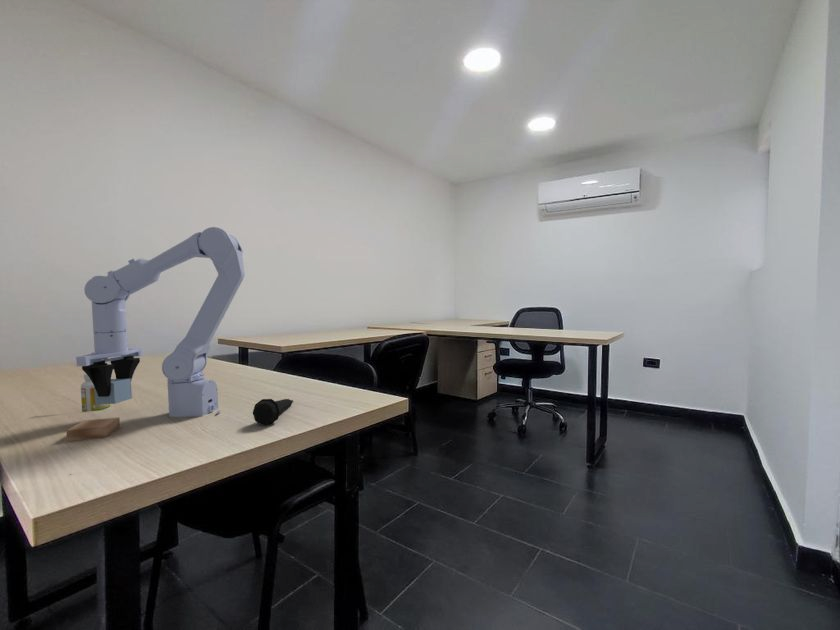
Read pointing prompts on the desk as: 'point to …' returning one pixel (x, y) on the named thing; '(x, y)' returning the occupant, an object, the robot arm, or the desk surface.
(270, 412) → the microphone
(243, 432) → the desk surface
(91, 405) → the supplement bottle
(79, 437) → the tower mid
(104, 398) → the cube
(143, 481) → the desk surface
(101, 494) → the desk surface
